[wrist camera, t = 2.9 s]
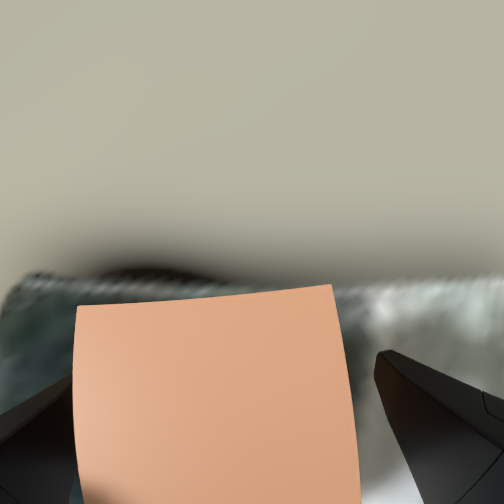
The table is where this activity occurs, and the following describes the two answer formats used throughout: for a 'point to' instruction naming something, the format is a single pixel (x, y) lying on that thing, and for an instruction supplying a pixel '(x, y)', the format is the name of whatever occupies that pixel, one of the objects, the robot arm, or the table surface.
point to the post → (215, 401)
